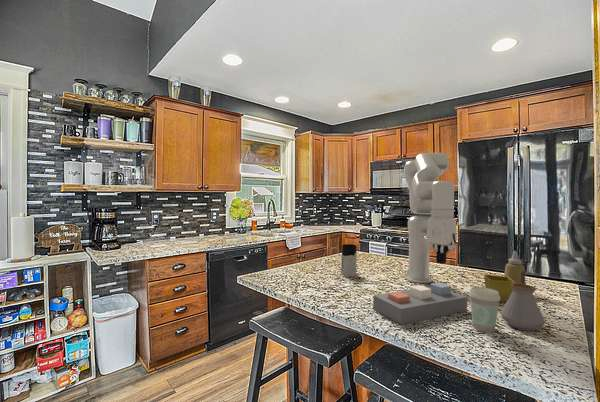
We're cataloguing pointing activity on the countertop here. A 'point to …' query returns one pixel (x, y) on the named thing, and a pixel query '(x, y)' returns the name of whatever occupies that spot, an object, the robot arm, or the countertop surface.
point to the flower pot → (500, 285)
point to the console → (419, 306)
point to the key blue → (440, 289)
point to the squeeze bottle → (514, 268)
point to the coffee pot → (522, 307)
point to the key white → (420, 292)
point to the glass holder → (348, 260)
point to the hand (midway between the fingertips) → (441, 262)
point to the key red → (398, 297)
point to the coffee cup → (484, 308)
